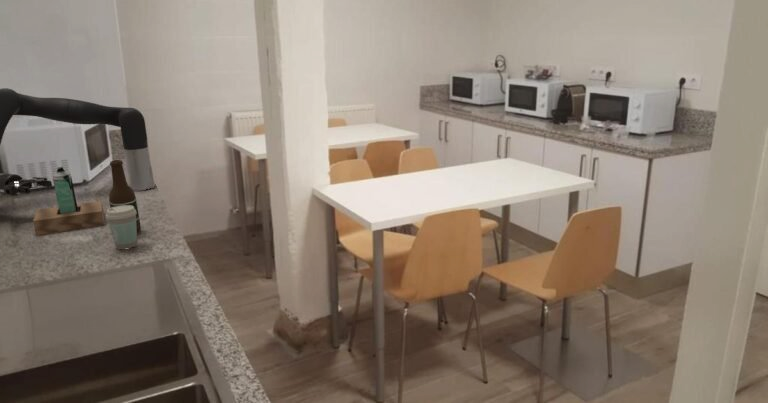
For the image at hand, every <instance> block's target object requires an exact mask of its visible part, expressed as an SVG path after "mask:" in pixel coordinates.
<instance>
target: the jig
mask: <svg viewBox="0 0 768 403" xmlns="http://www.w3.org/2000/svg"><path fill="white" fill-rule="evenodd" d="M77 207H78V212H73V213H66V214H60V211H59V206H54V207H48V208H46V207H45V208H41V209H36V212H35V214H34V219H32V223H33V227H34V231H35V236H36V235H38V236H44V235H49V233H51V234H55V233H54V232H57V233H62V232H61V231H63V232H68V230H70V231H74V230H73V229H76V230H80V229H81V228H83V229H88V228H87V227H89V228H93V226H95V227H100V226H99V225H102V226H105V212H104V207H103V201H102V200H98V201H91V202H82V203H77ZM43 234H44V235H43Z"/></svg>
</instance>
